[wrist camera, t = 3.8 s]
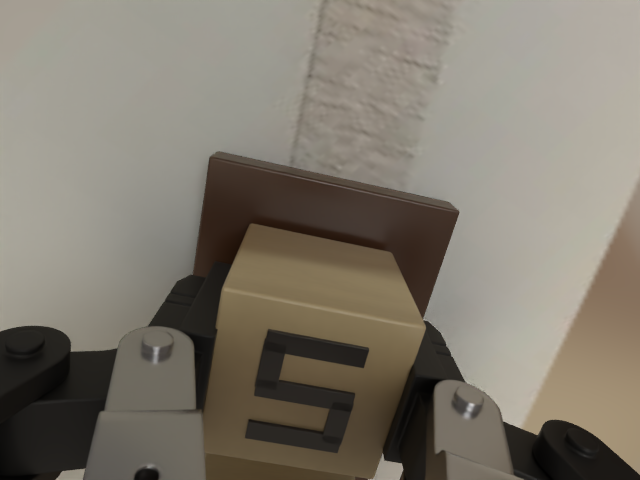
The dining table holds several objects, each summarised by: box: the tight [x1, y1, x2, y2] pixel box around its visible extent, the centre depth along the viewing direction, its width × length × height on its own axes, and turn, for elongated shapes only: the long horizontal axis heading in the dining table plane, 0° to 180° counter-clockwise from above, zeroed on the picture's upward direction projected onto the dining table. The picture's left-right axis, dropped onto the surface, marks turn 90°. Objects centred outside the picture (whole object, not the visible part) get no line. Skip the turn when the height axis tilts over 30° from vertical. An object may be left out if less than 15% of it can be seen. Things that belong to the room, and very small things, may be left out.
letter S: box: [203, 223, 426, 479], centre depth 11 cm, size 4×4×4 cm
